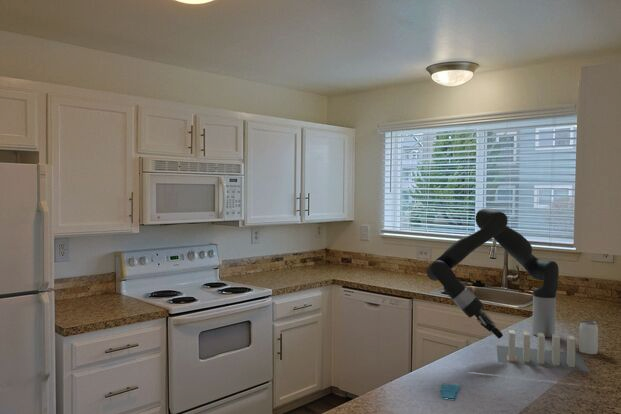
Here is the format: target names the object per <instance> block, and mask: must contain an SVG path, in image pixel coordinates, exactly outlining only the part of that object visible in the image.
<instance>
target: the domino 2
mask: <svg viewBox="0 0 621 414" xmlns="http://www.w3.org/2000/svg"><path fill="white" fill-rule="evenodd" d="M522 334H523V335H522V348H523V361H524V362H530V349H531V333H530V332H529V331H523V333H522Z"/></svg>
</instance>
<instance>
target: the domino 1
mask: <svg viewBox="0 0 621 414" xmlns="http://www.w3.org/2000/svg"><path fill="white" fill-rule="evenodd" d="M508 346H509V351H508V357H509V360H514V361H515V347H516V331H515V330H513V329H508Z"/></svg>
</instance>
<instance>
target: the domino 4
mask: <svg viewBox="0 0 621 414" xmlns="http://www.w3.org/2000/svg"><path fill="white" fill-rule="evenodd" d="M551 344H552V345H551V351H552V363H553V365H559V364H560V352H561V337H560V335H559V334H556V333H555V334H552V337H551Z"/></svg>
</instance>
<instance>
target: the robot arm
mask: <svg viewBox="0 0 621 414" xmlns="http://www.w3.org/2000/svg"><path fill="white" fill-rule="evenodd" d="M508 221H509V220H508V216H507V214H505V213H504V212H502V211H500V210H497V209H493V208H489V207H488V208H487V207H486V208H485V207H484V208H481V209H479V210H478V211H477V212H476V214H475V224H476V225H477V226H478V228H479V230H477V231H475V232H474V233H471V234H469V235H467V236H464V237H462V238H460V239H458V240H457V241H456V240H455V242H454V243H452V245H450V246H449V247H448V248H446V250H445V251H443V253H442V254H441V255H440V256H439V257H437V258H436V259H434V261H432V262H431V263H430V264H429V265H428V266H427V268H426V276H427V277H428V278H429V280H432V281H434V282H435V281H437V282H439V283H440V284H441V285H442V286H443V290H444V292H445V293H446V294H447V295H448V296H449V297H450V299H452V301H453V302H454V303H455V304H456V306H457V307H458V308H459V310H461V311H462V312H463V313H464V314H465V315H466V316H467V318H473V317H474V316H475V318H476V321H477V322H478V323H480V324H479V325H480V326H482V327H483V328H484V329H485V330H487V331H488V332H491V333H492V334H493V335H494V336H495V337H496V338H497V339H498V340H499V339H501V338H503V336H504V334H503V332H502V331H501V330H500V329H499V328H498V327H497V325H496V323H495V322H494V320H493V319H492V318H491V317H490V316H489V315H488V313H487V312H486V311H485V310H484V311H483V310H482V309H483V307H484V303H483V302H482V301H481V300H480V299H479V298H478V297H477V296H476V295H475V294H474V293H473V292H472V291H471V290H470V289H469V288H468V287H466V286H465V285H464V283H463V282H462V281H460V280H459V278H458V277H457V276H456V274H455V272H454V271H453V270H452V269H453V268H455V267H456V266H457V265H459V264H460V263H461V262H462V261H463V260H465V259H466V258H467V257H468V256H469V255H470V254H471V253H472V252H474V251H475V250H476V249H477V248H479V247H481V246H483V245H484V244H485V243H487V242H489V241H490V240H491V239H494V240H495V241H496V242H497V244H499V245H500V246H501V247H502V248H503V249H504V250H505V251H506V252H507V253H508V255H510V256H511V257H512V258H513V259H515V260H516V262H518V263H519V264H520V265H521V266H522V267H523V269H525V271H526V272H527V273H528V274H529V276H530V277H531V278H533V279H535V280H538V281H542V282H543V284H542V286H540V287H536V288H534V289H533V290H532V324H531V327H532V328H531V333H532V335H534V336H536V337H538V333H544V336H545V338H552V334H556V312H557V310H556V303H557V302H556V301H557V300H556V299H557V291H558V286H559V285H558V284H559V275H560V272H559V271H560V270H559V266H558V263H557V262H556V261H553V260H550V259H549V260H548V259H540V258H538V257H536V256H535V255H534V254H533V247H532V244H531V243H530V242H529V240H527V238H525V237H524V236H523V235H522V234H521V233H519V232H518V231H516V230H514V229H513V228H511V227H509V226H508Z"/></svg>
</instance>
